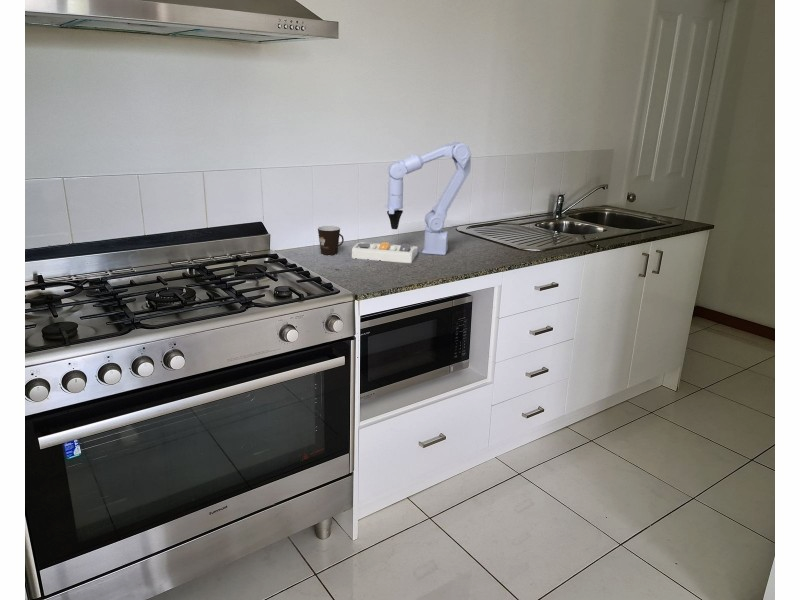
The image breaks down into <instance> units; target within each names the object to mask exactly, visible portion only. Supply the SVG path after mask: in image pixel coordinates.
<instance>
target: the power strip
mask: <svg viewBox="0 0 800 600" xmlns="http://www.w3.org/2000/svg"><path fill="white" fill-rule="evenodd" d="M360 243H364V244H370V247H368V248H360V247H358V244H360ZM380 244H381V243H376V242H375V243H374V242H365V241H364V242H363V241H361V242H357V243H356V244H355V245H353V247H352V250H351V259H355V258H357V259H356V260H367V259H369V260H368V261H379V260H381V261H383V262H393V263H402V264H403V263H405V264H412V263H413V262H414V259H415V258H416V257H417V255H418V250H419V249H418V246H415V245H410V248H409V251H408V252H404V251H399V249H400V247H401V245H402V244H392V243H391V244H390V246H389V248H388V250H379V249H378V248H379V246H380Z"/></svg>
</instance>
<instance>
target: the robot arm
mask: <svg viewBox="0 0 800 600" xmlns="http://www.w3.org/2000/svg"><path fill="white" fill-rule="evenodd" d="M471 157H472V152H471V150H470V148H469V146H468V145H467V144H466V143H462V142H460V141H453V142H452V143H447V144H444V145H441V146H439V147H437V148H435V149H433V150H431V151H428V152H426V153H424V154H421V155H420V154H418V153H415V154H414V153H410V154H409V156H408V157H405V158H403V159H402V158H399V159H398V160H397V161H394V162H391V163H390V164H389V165H388V168H387V174H388V182H387V184H388V186H387V188H388V190H387V191H388V192H387V204H385V205H384V208H387V209H388V210H387V211H386V214H387V215H388V219H389V222H390V223H389V224H390V227H391V230H398V227H399V223H400V220H401V217H402V214H403V213H404V210H403V208H404V205H403V201H404V176H405V175H408V174H412V173H413V172H415V171H418V170H421V169H423V167H424V164H427V163H430V162H432V161H436V160H438V159H440V158H450V159H452V160H453V163H454V165H455V170H454V173H453V174H452V175H451V178H450V180H449V181H448V183H447V185H446V186H445V188H444V190H443V192H442V194H441V195H440V198H439V199H438V200H437V203H436V204H435V205H434V206H433V207H432V209H430V211H429V212H427V213H426V214H425V216H424V222H425V224H426V227H425V228H424V239H423V240H424V241H423V249H422V250H421V254H428V255H430V254H431V255H441V256H442V255H443V256H445V255H446V254H447V252H448V250H449V249H448V247H449V246H448V245H449V244H448V242H449V231H448V230H444V227H445V220H446V219H447V216H448V211H449V209H450V207H451V205H452V204H453V202H454V200H455V198H456V196H458V193H459V191H460V190H461V188H462V186H463V185H464V182H465V181H466V180H467V178H468V176H469V174H470V173H471V161H472V160H471Z"/></svg>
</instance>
